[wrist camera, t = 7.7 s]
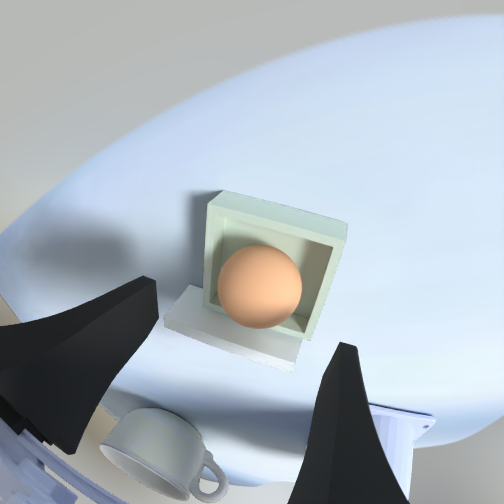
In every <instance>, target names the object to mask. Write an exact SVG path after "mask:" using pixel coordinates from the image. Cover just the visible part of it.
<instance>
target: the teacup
mask: <svg viewBox="0 0 504 504" xmlns="http://www.w3.org/2000/svg"><path fill="white" fill-rule="evenodd" d="M99 447H100V449H101V451H102V453H103V454H104V455H105V456H106V457H107V458H108V459H109V460H110V461H111V462H112V463H113V464H114V465H115V466H117V467H118V468H119V469H120V470H122V471H123V472H125V473H126V474H127V475H129V476H130V477H132V478H133V479H135V480H137V481H138V482H140V483H141V484H143V485H145V486H147V487H148V488H150V489H152V490H154V491H156V492H158V493H160V494H163V495H165V496H168V497H170V498H173V499H177V500H181V501H187V500H188V499H189V497H190V493H192V494H193V496H194V497H195V498H197V499H198V500H200V501H202V502H206V503H214V502H217V501H220V500H221V499H222V498H223V497H224V496H225V495H226V494H227V491H228V487H229V484H228V480H227V477H226V475H225V474H224V472H223V471H222V469H221V468H220V467H219V466H218V465H217V464H216V463H215V461H214V460H213V455H212V453H211V452H210V451H208V450H206V448H205V446H204V444H203V442H202V439H201V437H200V435H199V433H198V432H197V430H196V429H195V428H194V427H193V426H191V425H190V424H189V423H188V422H186V421H185V420H183V419H182V418H180V417H179V416H177V415H175V414H173V413H171V412H168V411H166V410H163V409H159V408H149V409H148V408H138V409H134V410H132V411H130V412H129V413H127V414H126V415H125V416H124V417H123V418H122V419H121V420H120V421H119V423H118V424H117V425H116V426H115V427H114V429H113V430H112V431H111V433H110V434H109V435H108V436H107V438H106V439H105V441H104V442H102V443H100V445H99ZM205 466H207V467H208V468H209V469H210V470H211V471H212V472H213V473H214V474H215V475H216V477H217V478H218V481H219V487H218V489H217V490H216V491H215V492H213V493H211V494H206V493H203V492H202V491H201V490H200V489H199V482H200V478H199V477H200V475H201V473H202V471H203V469H204V467H205Z"/></svg>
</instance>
